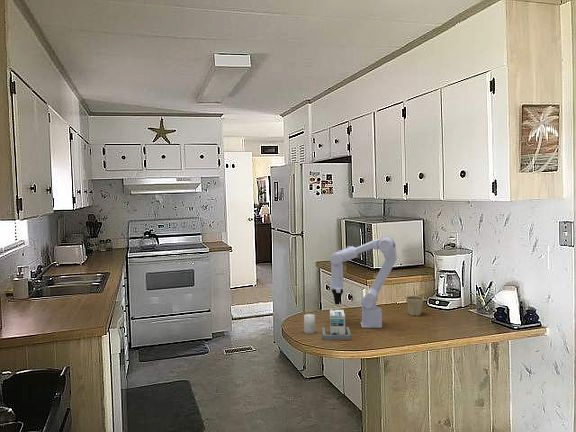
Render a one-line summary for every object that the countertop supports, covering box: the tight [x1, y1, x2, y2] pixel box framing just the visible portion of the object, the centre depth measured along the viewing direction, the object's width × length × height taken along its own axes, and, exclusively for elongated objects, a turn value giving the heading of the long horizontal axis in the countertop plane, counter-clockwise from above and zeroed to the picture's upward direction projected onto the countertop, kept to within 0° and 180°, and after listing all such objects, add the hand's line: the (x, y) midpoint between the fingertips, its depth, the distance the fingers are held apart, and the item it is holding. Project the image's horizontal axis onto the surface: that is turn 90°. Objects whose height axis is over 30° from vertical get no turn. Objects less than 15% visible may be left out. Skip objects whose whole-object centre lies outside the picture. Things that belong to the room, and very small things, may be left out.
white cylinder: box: [303, 313, 316, 335], centre depth 235 cm, size 5×5×8 cm
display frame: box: [321, 326, 352, 341], centre depth 229 cm, size 12×13×2 cm
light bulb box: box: [329, 309, 346, 335], centre depth 229 cm, size 11×7×11 cm, turn 177°
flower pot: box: [405, 295, 425, 317], centre depth 263 cm, size 9×9×9 cm
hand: (337, 304), depth 249 cm, fingers closed
